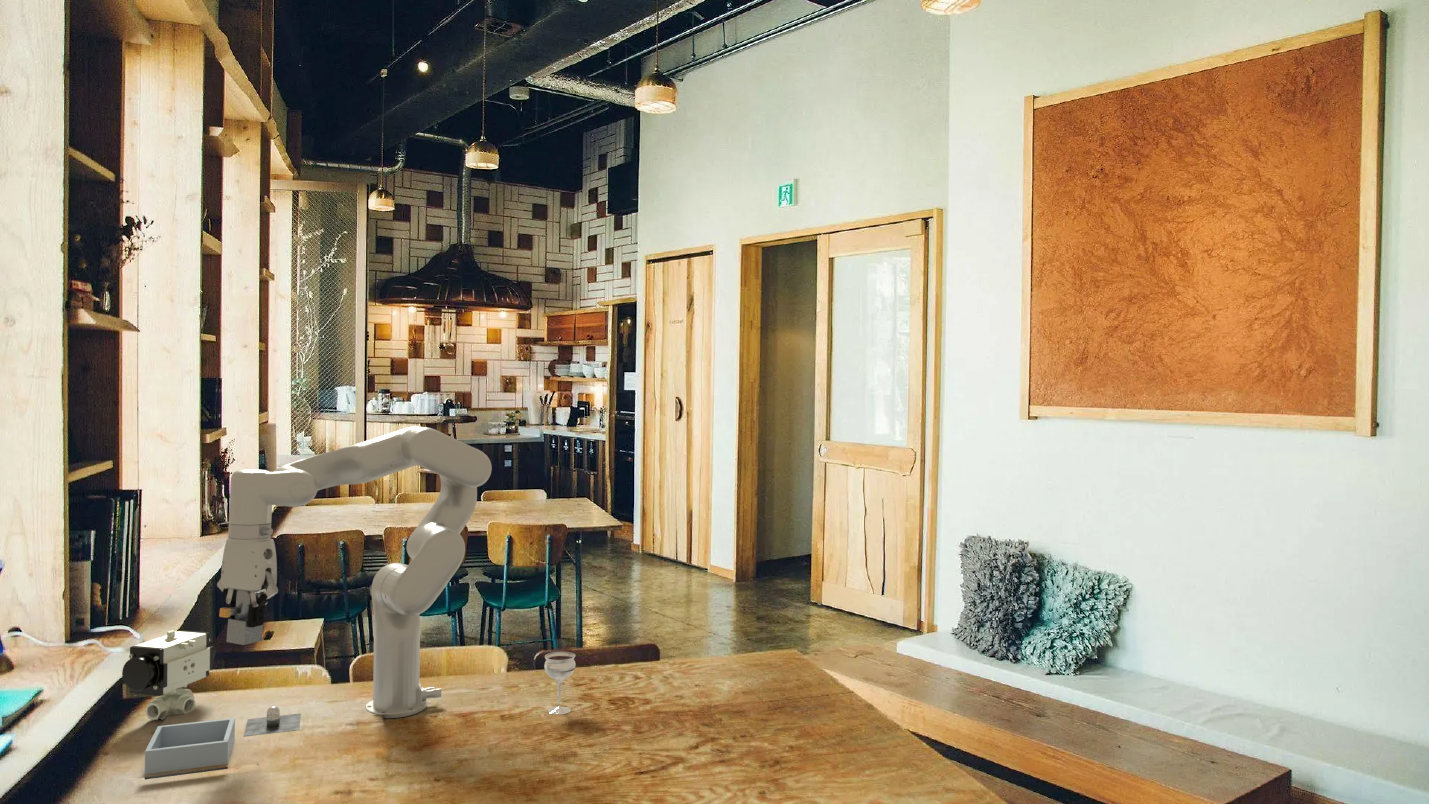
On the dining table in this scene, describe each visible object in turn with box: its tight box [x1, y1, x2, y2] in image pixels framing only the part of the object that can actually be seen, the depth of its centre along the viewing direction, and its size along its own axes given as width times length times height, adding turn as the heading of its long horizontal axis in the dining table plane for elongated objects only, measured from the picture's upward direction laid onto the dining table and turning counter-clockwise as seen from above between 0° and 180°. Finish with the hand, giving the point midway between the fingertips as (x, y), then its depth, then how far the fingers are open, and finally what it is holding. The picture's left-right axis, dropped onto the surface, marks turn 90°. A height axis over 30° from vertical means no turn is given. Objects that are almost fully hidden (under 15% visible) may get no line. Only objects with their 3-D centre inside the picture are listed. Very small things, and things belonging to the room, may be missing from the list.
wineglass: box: [543, 651, 577, 715], centre depth 200 cm, size 7×7×12 cm
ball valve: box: [121, 629, 216, 721], centre depth 193 cm, size 18×8×18 cm, turn 168°
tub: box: [144, 717, 236, 780], centre depth 170 cm, size 13×13×5 cm
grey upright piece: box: [218, 589, 264, 646], centre depth 179 cm, size 8×4×12 cm, turn 161°
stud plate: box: [243, 705, 302, 737], centre depth 186 cm, size 10×10×5 cm
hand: (245, 623), depth 180 cm, fingers closed on grey upright piece, 4 cm apart
